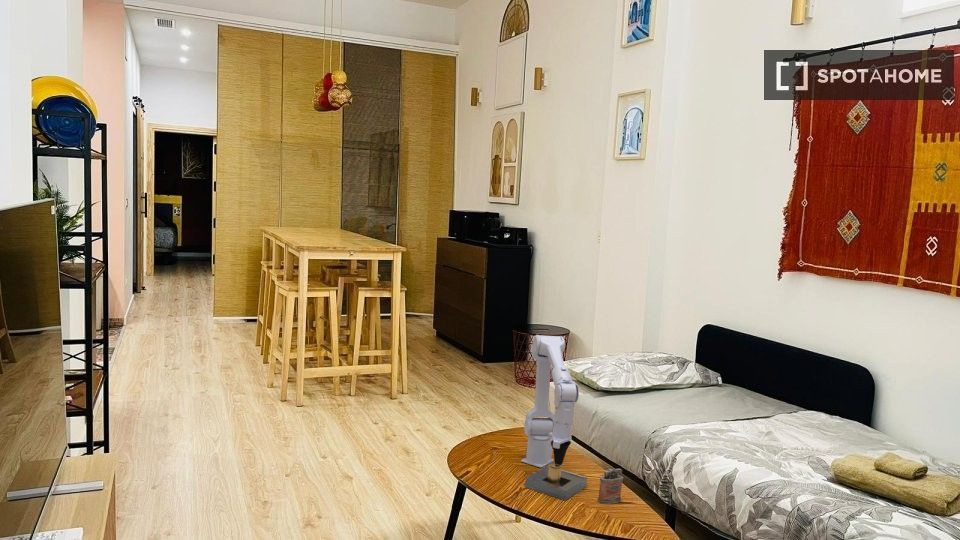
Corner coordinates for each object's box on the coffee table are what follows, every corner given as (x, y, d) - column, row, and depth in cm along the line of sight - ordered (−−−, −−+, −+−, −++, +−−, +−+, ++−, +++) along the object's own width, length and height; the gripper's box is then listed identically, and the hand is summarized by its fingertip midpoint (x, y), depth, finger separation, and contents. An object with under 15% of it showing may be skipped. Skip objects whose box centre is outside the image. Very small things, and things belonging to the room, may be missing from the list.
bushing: (547, 485, 232) (550, 460, 231) (561, 488, 230) (563, 463, 229) (544, 490, 227) (546, 465, 227) (558, 493, 226) (560, 468, 225)
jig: (547, 474, 241) (548, 464, 241) (586, 486, 233) (587, 476, 233) (524, 487, 228) (525, 476, 228) (565, 500, 221) (566, 490, 221)
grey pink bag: (601, 504, 221) (605, 472, 219) (595, 500, 223) (598, 468, 222) (622, 501, 224) (626, 470, 223) (616, 497, 227) (619, 466, 226)
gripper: (555, 413, 235) (551, 454, 236) (545, 425, 221) (540, 468, 222) (577, 417, 232) (573, 458, 234) (567, 429, 219) (563, 473, 220)
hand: (558, 463), depth 228 cm, fingers closed
